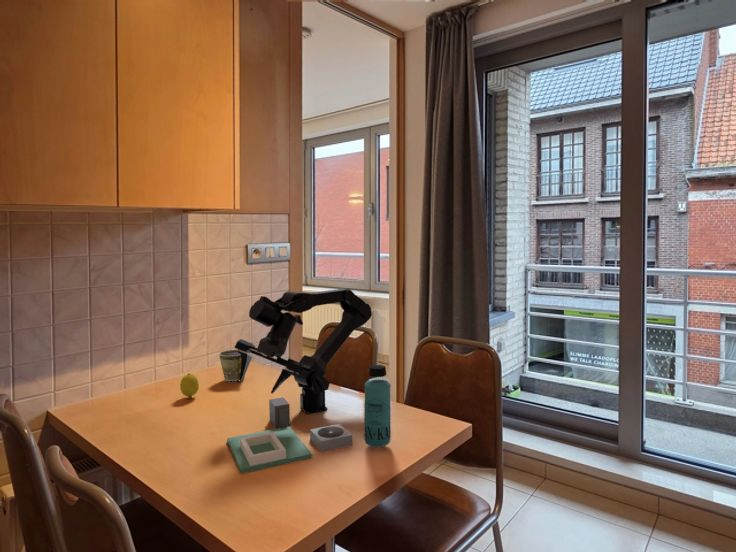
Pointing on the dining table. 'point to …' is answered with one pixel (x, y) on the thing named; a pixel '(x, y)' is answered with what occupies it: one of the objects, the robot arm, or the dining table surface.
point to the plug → (279, 412)
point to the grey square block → (330, 437)
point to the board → (267, 449)
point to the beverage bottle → (377, 408)
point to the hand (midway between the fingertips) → (256, 387)
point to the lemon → (189, 385)
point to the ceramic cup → (231, 365)
